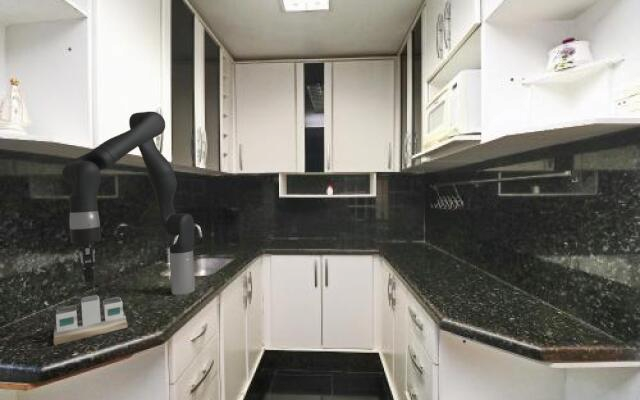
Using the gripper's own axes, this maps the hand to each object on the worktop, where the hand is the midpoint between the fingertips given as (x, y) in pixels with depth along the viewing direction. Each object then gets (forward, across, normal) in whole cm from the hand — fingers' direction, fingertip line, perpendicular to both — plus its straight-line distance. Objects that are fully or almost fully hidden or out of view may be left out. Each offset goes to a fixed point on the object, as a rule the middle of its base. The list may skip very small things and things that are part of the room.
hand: (88, 278), depth 103 cm
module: (+14, 0, 0) cm, 14 cm away
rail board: (+16, 0, 0) cm, 16 cm away
